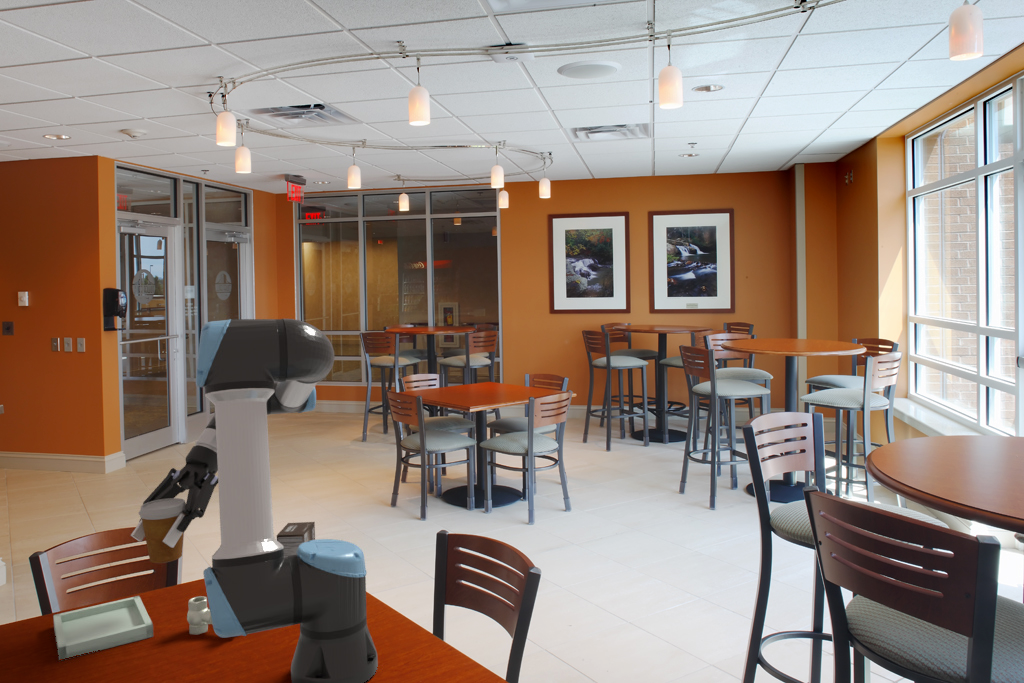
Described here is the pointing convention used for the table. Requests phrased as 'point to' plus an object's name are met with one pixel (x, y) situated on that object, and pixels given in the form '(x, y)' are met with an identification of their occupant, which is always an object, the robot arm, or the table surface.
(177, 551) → the disposable coffee cup
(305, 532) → the coffee box
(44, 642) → the table surface
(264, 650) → the table surface
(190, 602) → the valve
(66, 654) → the tray
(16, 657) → the table surface
